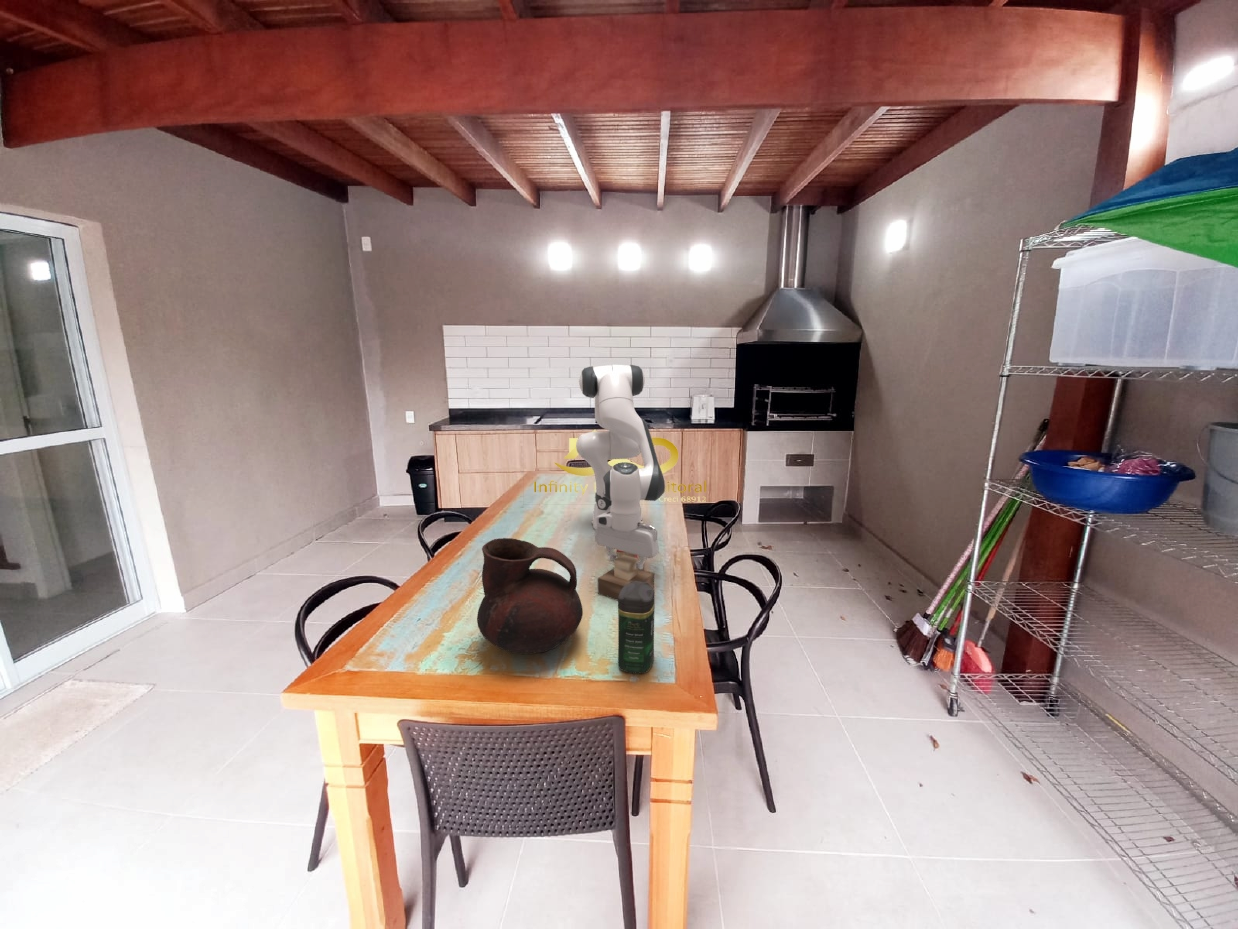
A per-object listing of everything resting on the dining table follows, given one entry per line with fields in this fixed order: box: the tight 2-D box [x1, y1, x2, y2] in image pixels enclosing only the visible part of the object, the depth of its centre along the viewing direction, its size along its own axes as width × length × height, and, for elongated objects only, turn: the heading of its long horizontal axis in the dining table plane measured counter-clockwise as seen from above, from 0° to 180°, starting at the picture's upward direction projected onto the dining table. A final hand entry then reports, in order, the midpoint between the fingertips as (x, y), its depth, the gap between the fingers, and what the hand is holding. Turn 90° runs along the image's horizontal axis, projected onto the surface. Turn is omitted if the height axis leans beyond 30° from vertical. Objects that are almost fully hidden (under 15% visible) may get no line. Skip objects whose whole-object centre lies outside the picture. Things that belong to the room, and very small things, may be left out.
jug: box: [476, 537, 584, 655], centre depth 118 cm, size 25×25×25 cm
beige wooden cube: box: [613, 555, 639, 581], centre depth 143 cm, size 5×5×5 cm
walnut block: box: [597, 567, 655, 601], centre depth 144 cm, size 12×12×5 cm
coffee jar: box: [617, 581, 655, 675], centre depth 110 cm, size 10×8×19 cm
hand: (626, 564), depth 143 cm, fingers open, 8 cm apart
